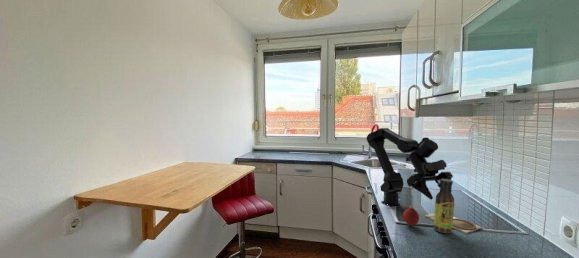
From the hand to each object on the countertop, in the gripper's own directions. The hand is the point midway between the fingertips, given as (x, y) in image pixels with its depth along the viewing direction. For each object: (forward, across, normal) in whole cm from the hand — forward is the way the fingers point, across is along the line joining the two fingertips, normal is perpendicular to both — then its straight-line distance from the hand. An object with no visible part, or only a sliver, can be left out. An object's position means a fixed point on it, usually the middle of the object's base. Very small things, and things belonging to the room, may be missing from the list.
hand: (441, 197), depth 99 cm
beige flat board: (+6, +10, +11) cm, 16 cm away
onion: (+5, -9, +13) cm, 16 cm away
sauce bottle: (+10, 0, +8) cm, 13 cm away
